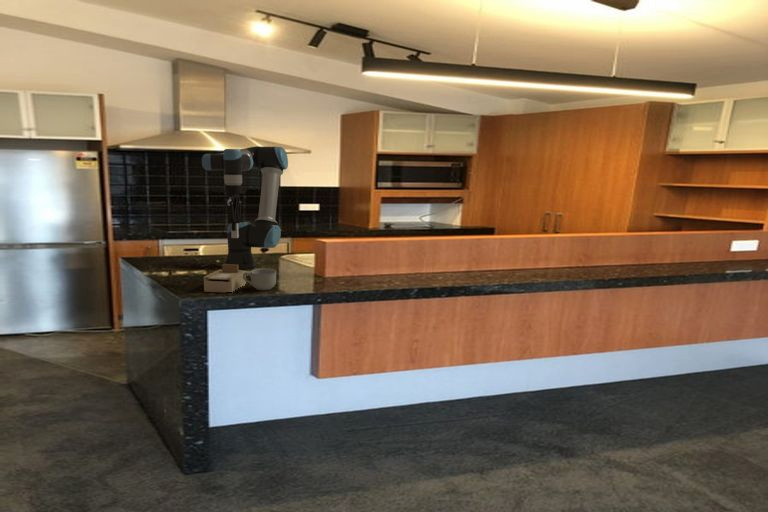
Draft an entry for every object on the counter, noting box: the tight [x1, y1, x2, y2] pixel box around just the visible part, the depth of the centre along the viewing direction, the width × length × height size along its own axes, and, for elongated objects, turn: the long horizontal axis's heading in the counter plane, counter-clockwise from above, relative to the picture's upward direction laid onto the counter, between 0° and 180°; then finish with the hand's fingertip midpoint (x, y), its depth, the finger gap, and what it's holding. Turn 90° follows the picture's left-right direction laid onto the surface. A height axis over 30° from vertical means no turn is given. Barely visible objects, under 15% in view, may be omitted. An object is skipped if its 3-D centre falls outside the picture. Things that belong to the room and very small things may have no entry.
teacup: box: [243, 268, 277, 291], centre depth 226 cm, size 14×11×8 cm
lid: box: [207, 263, 240, 280], centre depth 226 cm, size 14×10×4 cm
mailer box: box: [203, 269, 247, 293], centre depth 227 cm, size 16×12×6 cm
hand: (235, 237), depth 236 cm, fingers closed
